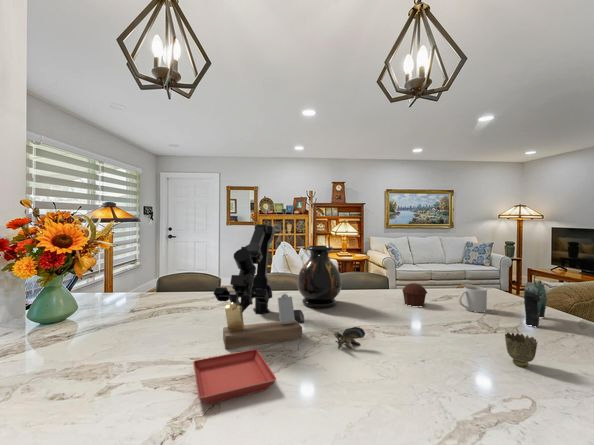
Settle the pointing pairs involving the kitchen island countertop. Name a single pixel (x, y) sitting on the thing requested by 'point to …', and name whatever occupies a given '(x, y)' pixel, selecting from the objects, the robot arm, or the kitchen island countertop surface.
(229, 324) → the brass lever
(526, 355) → the cup
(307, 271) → the amphora vase
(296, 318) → the phone
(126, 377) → the kitchen island countertop surface
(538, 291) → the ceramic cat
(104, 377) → the kitchen island countertop surface
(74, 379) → the kitchen island countertop surface
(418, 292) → the muffin
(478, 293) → the mug
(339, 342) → the eagle figurine
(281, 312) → the slate lever
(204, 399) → the plant saucer
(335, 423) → the kitchen island countertop surface
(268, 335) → the walnut panel
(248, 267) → the robot arm
